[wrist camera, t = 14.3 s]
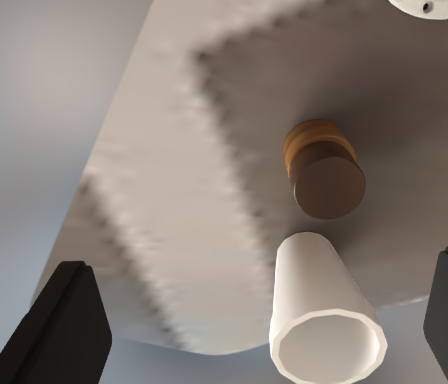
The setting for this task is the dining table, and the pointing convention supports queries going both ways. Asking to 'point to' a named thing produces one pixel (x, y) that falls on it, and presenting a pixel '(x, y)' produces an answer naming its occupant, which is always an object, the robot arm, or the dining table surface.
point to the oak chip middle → (316, 136)
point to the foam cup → (321, 316)
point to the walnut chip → (326, 180)
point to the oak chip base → (305, 127)
